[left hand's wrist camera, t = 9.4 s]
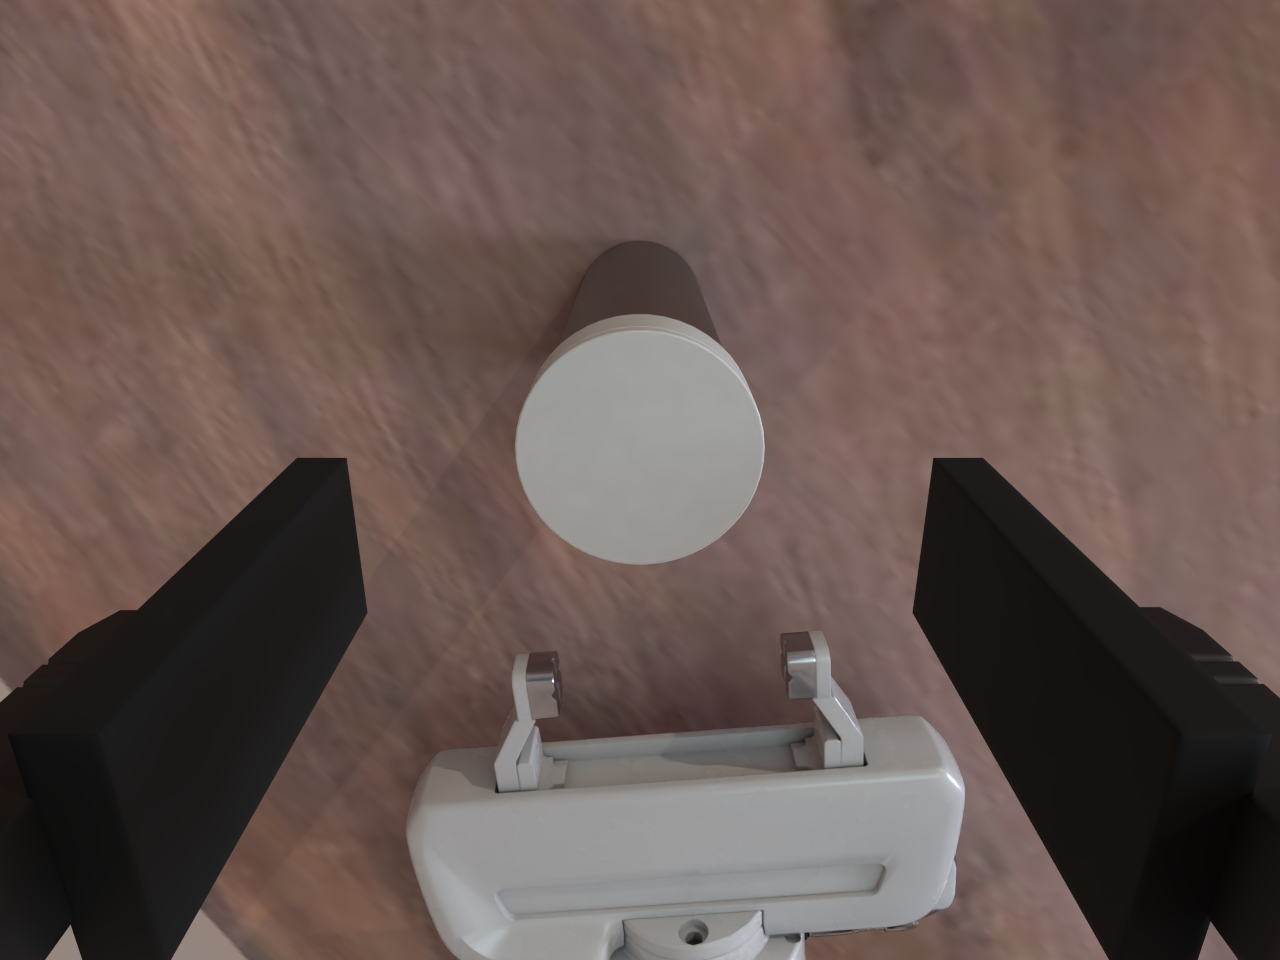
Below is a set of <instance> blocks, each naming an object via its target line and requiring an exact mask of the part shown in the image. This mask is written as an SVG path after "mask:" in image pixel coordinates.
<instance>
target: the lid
mask: <svg viewBox="0 0 1280 960" xmlns="http://www.w3.org/2000/svg"><path fill="white" fill-rule="evenodd" d="M764 448H765V446H764V432H763V427H762V422H761V418H760V414H759V412H758V409H757V406H756V404H755V401H754V399H753V396H752V394H751V392H750V389H749V387H748V384H747V382H746V380H745V378H744V376H743V374H742V372H741V371H740V369H739V367H738V366H737V364H736V363H735V362H734V360H733V359H732V357H731V356H730V355H729V354H728V353H727V352H726V351H725V350H724V349H723V348H722V347H721V345H720V344H718V343H717V342H716V341H715V340H713V339H712V338H711V337H709V336H708V335H707V334H705V333H703V332H702V331H700V330H698V329H697V328H695V327H693V326H691V325H688V324H686V323H684V322H681V321H679V320H675V319H671V318H668V317H664V316H657V315H650V314H630V315H622V316H616V317H612V318H608V319H604V320H601V321H598V322H596V323H593V324H591V325H588V326H586V327H585V328H583V329H581V330H579V331H578V332H576V333H574V334H573V335H571V336H570V337H569V338H567V339H566V340H565V341H564V342H562V343H561V344H560V345H559V346H558V347H557V348H556V349H555V350H554V351H553V352H552V353H551V354H550V355H549V357H548V358H547V359H546V361H545V362H544V363H543V365H542V366H541V368H540V370H539V371H538V373H537V375H536V377H535V379H534V381H533V383H532V386H531V388H530V390H529V393H528V395H527V397H526V400H525V402H524V405H523V407H522V410H521V413H520V416H519V420H518V424H517V428H516V438H515V458H516V465H517V470H518V475H519V478H520V481H521V484H522V487H523V490H524V492H525V494H526V496H527V498H528V500H529V502H530V504H531V506H532V507H533V508H534V510H535V511H536V513H537V514H538V516H539V517H540V518H541V519H542V521H543V522H544V523H545V524H546V525H547V526H548V527H549V528H550V529H551V530H552V531H553V532H554V533H555V534H557V535H558V536H559V537H560V538H561V539H563V540H564V541H566V542H567V543H569V544H570V545H572V546H573V547H575V548H577V549H579V550H581V551H583V552H585V553H587V554H589V555H592V556H595V557H597V558H600V559H603V560H607V561H612V562H616V563H623V564H637V565H647V564H656V563H664V562H668V561H672V560H676V559H679V558H682V557H685V556H688V555H690V554H693V553H695V552H697V551H699V550H701V549H703V548H705V547H706V546H708V545H709V544H711V543H712V542H714V541H715V540H717V539H718V538H719V537H721V536H722V535H723V534H724V533H725V532H726V531H727V530H729V529H730V528H731V527H732V525H733V524H734V523H735V522H736V521H737V520H738V519H739V518H740V516H741V515H742V513H743V512H744V511H745V509H746V508H747V506H748V505H749V503H750V501H751V499H752V497H753V495H754V493H755V491H756V488H757V485H758V483H759V480H760V477H761V472H762V467H763V462H764Z"/></svg>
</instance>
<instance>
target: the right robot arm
mask: <svg viewBox="0 0 1280 960" xmlns="http://www.w3.org/2000/svg"><path fill="white" fill-rule="evenodd" d="M780 645H781V649H782V654H781V670H782V674H783V679H784V681H786V690H787V694H788V697H789V699H805V698H812V700H813V701H814V702H815V704H816V705H815V706H814V707H813V722H807V723H793V724H780V725H767V726H754V727H741V728H727V729H714V730H701V731H687V732H674V733H661V734H648V735H635V736H622V737H608V738H595V739H582V740H568V741H555V742H542V743H541V737H540V732H539V728H538V727H537V726H533V725H534V723H535V721H536V719H543V718H553V717H559V711H560V699H561V697H562V690H563V685H562V678H561V672H560V671H559V670H558V666H559V658H558V653H557V651H552V652H535V653H524V654H516V657H515V661H514V665H513V670H512V690H513V696H514V702H515V703H514V705H513V707H512V709H511V711H510V713H509V715H508V717H507V719H506V721H505V723H504V725H503V727H502V731H501V736H500V740H499V744H498V746H488V747H475V748H460V749H448V750H443V751H440V752H439V753H437V754H436V755H435V756H434V758H433V759H432V760H431V762H430V763H429V764H428V766H427V767H426V769H425V770H424V772H423V773H422V775H421V777H420V779H419V781H418V783H417V786H416V788H415V791H414V794H413V797H412V800H411V804H410V808H409V812H408V816H407V822H406V838H407V844H408V849H409V853H410V857H411V860H412V864H413V867H414V871H415V874H416V877H417V880H418V883H419V886H420V889H421V892H422V895H423V897H424V900H425V903H426V905H427V908H428V910H429V913H430V915H431V918H432V920H433V923H434V925H435V927H436V929H437V931H438V933H439V935H440V937H441V939H442V941H443V942H444V944H445V945H446V946H447V948H448V949H449V950H450V951H451V952H452V953H453V955H455V956H456V957H457V958H458V959H459V960H806V956H805V939H807V937H823V936H837V935H847V934H852V933H858V932H859V931H860V932H863V931H866V930H867V931H869V930H884V931H887V932H896V931H904V930H909V929H912V928H915V927H917V925H918V920H919V919H921V918H924V917H928V916H930V915H932V914H934V913H936V912H938V911H939V910H940V909H945V908H947V907H948V906H950V904H951V903H952V901H953V898H954V895H955V882H956V857H955V853H956V848H957V844H958V839H959V835H960V829H961V824H962V817H963V810H964V802H965V787H964V782H963V779H962V776H961V773H960V770H959V768H958V765H957V763H956V761H955V759H954V757H953V755H952V753H951V751H950V749H949V747H948V745H947V744H946V742H945V740H944V739H943V737H942V736H941V735H940V734H939V733H938V732H937V731H936V730H935V729H934V728H933V727H932V726H931V725H930V724H929V723H928V722H927V721H926V720H925V719H924V718H922V717H920V716H917V715H898V716H886V717H872V718H859V719H857V718H856V716H855V713H854V710H853V708H852V705H851V702H850V700H849V699H848V698H847V696H846V695H845V694H844V692H843V691H842V690H841V688H840V687H839V686H838V684H837V683H836V682H835V680H834V679H833V678H832V677H831V665H830V655H829V649H828V645H827V643H826V640H825V637H824V635H823V632H822V630H819V631H807V632H795V633H782V634H780Z"/></svg>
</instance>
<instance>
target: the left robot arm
mask: <svg viewBox="0 0 1280 960" xmlns="http://www.w3.org/2000/svg"><path fill="white" fill-rule="evenodd" d="M366 614H367V606H366V599H365V591H364V584H363V577H362V569H361V562H360V554H359V547H358V539H357V532H356V525H355V517H354V510H353V502H352V495H351V487H350V480H349V473H348V465H347V458H297V459H296V460H294V461H293V462H292V463H291V464H290V465H289V466H288V467H287V468H286V469H285V470H284V471H283V472H282V473H281V474H280V475H279V476H278V477H277V478H276V479H275V480H273V481H272V482H271V483H270V484H269V485H268V486H267V487H266V488H265V489H264V490H263V491H262V492H261V493H260V494H259V495H258V496H257V497H256V498H255V499H254V500H252V501H251V502H250V503H249V504H248V505H247V506H246V507H245V508H244V509H243V510H242V511H241V512H240V513H239V514H238V515H237V516H236V517H235V518H234V519H233V520H231V521H230V522H229V523H228V524H227V525H226V526H225V527H224V528H223V529H222V530H221V531H220V532H219V533H218V534H217V535H216V536H215V537H214V538H213V539H211V540H210V541H209V542H208V543H207V544H206V545H205V546H204V547H203V548H202V549H201V550H200V551H199V552H198V553H197V554H196V555H195V556H194V557H193V558H192V559H190V560H189V561H188V562H187V563H186V564H185V565H184V566H183V567H182V568H181V569H180V570H179V571H178V572H177V573H176V574H175V575H174V576H173V577H172V578H171V579H169V580H168V581H167V582H166V583H165V584H164V585H163V586H162V587H161V588H160V589H159V590H158V591H157V592H156V593H155V594H154V595H153V596H152V597H151V598H150V599H148V600H147V601H146V602H145V603H144V604H143V605H142V606H141V607H140V608H139V609H138V610H120V611H118V612H116V613H114V614H113V615H111V616H109V617H107V618H105V619H103V620H101V621H99V622H98V623H96V624H94V625H92V626H90V627H88V628H86V629H85V630H83V631H81V632H79V633H78V634H76V635H75V636H74V637H73V638H72V639H71V640H70V641H69V642H67V643H66V644H65V645H64V646H63V647H62V648H61V649H60V650H59V651H57V652H56V653H55V654H54V655H53V656H52V657H51V658H50V659H48V660H49V662H48V665H42V666H41V667H39V668H38V669H37V670H36V671H35V672H34V673H33V674H32V675H30V676H29V677H28V678H27V679H26V680H25V681H24V685H23V687H17V688H16V689H15V690H14V691H13V692H11V693H10V694H9V695H8V696H7V697H6V698H5V699H4V700H3V701H1V702H0V960H45V959H46V958H47V956H48V955H49V954H50V952H51V951H52V949H53V948H54V947H55V945H56V944H57V942H58V941H59V940H60V938H61V937H62V936H63V934H64V933H65V931H66V930H67V929H68V927H69V926H70V924H71V927H72V930H73V933H74V936H75V939H76V942H77V945H78V948H79V951H80V954H81V957H82V960H171V959H172V957H173V955H174V953H175V952H176V950H177V948H178V946H179V944H180V943H181V941H182V939H183V937H184V936H185V934H186V932H187V930H188V928H189V927H190V925H191V923H192V922H193V920H194V918H195V916H196V914H197V913H198V911H199V909H200V907H201V906H202V904H203V902H204V900H205V899H206V897H207V895H208V893H209V892H210V890H211V888H212V886H213V884H214V883H215V881H216V879H217V877H218V876H219V874H220V872H221V870H222V869H223V867H224V865H225V863H226V861H227V860H228V858H229V856H230V854H231V853H232V851H233V849H234V847H235V846H236V844H237V842H238V840H239V839H240V837H241V835H242V833H243V831H244V830H245V828H246V826H247V824H248V823H249V821H250V819H251V817H252V816H253V814H254V812H255V810H256V809H257V807H258V805H259V803H260V801H261V800H262V798H263V796H264V794H265V793H266V791H267V789H268V787H269V786H270V784H271V782H272V780H273V779H274V777H275V775H276V773H277V771H278V770H279V768H280V766H281V764H282V763H283V761H284V759H285V757H286V756H287V754H288V752H289V750H290V749H291V747H292V745H293V743H294V741H295V740H296V738H297V736H298V734H299V733H300V731H301V729H302V727H303V726H304V724H305V722H306V720H307V718H308V717H309V715H310V713H311V711H312V710H313V708H314V706H315V704H316V703H317V701H318V699H319V697H320V696H321V694H322V692H323V690H324V688H325V687H326V685H327V683H328V681H329V680H330V678H331V676H332V674H333V673H334V671H335V669H336V667H337V666H338V664H339V662H340V660H341V658H342V657H343V655H344V653H345V651H346V650H347V648H348V646H349V644H350V643H351V641H352V639H353V637H354V636H355V634H356V632H357V630H358V628H359V627H360V625H361V623H362V621H363V620H364V618H365V616H366ZM913 614H914V616H915V618H916V620H917V621H918V623H919V625H920V627H921V628H922V630H923V632H924V634H925V636H926V637H927V639H928V641H929V643H930V644H931V646H932V648H933V650H934V651H935V653H936V655H937V657H938V658H939V660H940V662H941V664H942V666H943V667H944V669H945V671H946V673H947V674H948V676H949V678H950V680H951V681H952V683H953V685H954V687H955V688H956V690H957V692H958V694H959V696H960V697H961V699H962V701H963V703H964V704H965V706H966V708H967V710H968V711H969V713H970V715H971V717H972V719H973V720H974V722H975V724H976V726H977V727H978V729H979V731H980V733H981V734H982V736H983V738H984V740H985V741H986V743H987V745H988V747H989V749H990V750H991V752H992V754H993V756H994V757H995V759H996V761H997V763H998V764H999V766H1000V768H1001V770H1002V771H1003V773H1004V775H1005V777H1006V779H1007V780H1008V782H1009V784H1010V786H1011V787H1012V789H1013V791H1014V793H1015V794H1016V796H1017V798H1018V800H1019V801H1020V803H1021V805H1022V807H1023V809H1024V810H1025V812H1026V814H1027V816H1028V817H1029V819H1030V821H1031V823H1032V824H1033V826H1034V828H1035V830H1036V831H1037V833H1038V835H1039V837H1040V839H1041V840H1042V842H1043V844H1044V846H1045V847H1046V849H1047V851H1048V853H1049V854H1050V856H1051V858H1052V860H1053V862H1054V863H1055V865H1056V867H1057V869H1058V870H1059V872H1060V874H1061V876H1062V877H1063V879H1064V881H1065V883H1066V884H1067V886H1068V888H1069V890H1070V892H1071V893H1072V895H1073V897H1074V899H1075V900H1076V902H1077V904H1078V906H1079V907H1080V909H1081V911H1082V913H1083V914H1084V916H1085V918H1086V920H1087V922H1088V923H1089V925H1090V927H1091V929H1092V930H1093V932H1094V934H1095V936H1096V937H1097V939H1098V941H1099V943H1100V944H1101V946H1102V948H1103V950H1104V952H1105V953H1106V955H1107V957H1108V959H1109V960H1198V957H1199V954H1200V951H1201V948H1202V945H1203V942H1204V939H1205V936H1206V933H1207V930H1208V927H1209V924H1210V921H1211V922H1212V924H1213V925H1214V927H1215V928H1216V929H1217V931H1218V932H1219V933H1220V935H1221V936H1222V938H1223V939H1224V940H1225V942H1226V943H1227V945H1228V946H1229V947H1230V949H1231V950H1232V951H1233V953H1234V954H1235V956H1236V957H1237V958H1238V960H1280V698H1279V697H1278V696H1277V695H1276V694H1274V693H1273V692H1272V691H1271V690H1270V689H1269V688H1268V687H1267V686H1265V685H1264V684H1258V682H1257V678H1256V677H1255V676H1254V675H1253V674H1252V673H1251V672H1250V671H1249V670H1247V669H1246V668H1245V667H1244V666H1243V665H1242V664H1241V663H1239V662H1233V660H1232V655H1230V654H1229V653H1228V652H1227V651H1226V650H1225V649H1224V648H1223V647H1221V646H1220V645H1219V644H1218V643H1217V642H1216V641H1215V640H1214V639H1212V638H1211V637H1210V636H1209V635H1208V634H1207V633H1206V632H1204V631H1203V630H1202V629H1200V628H1198V627H1196V626H1194V625H1193V624H1191V623H1189V622H1187V621H1185V620H1183V619H1181V618H1179V617H1178V616H1176V615H1174V614H1172V613H1170V612H1168V611H1166V610H1164V609H1163V608H1161V607H1139V606H1138V605H1137V604H1136V603H1135V602H1134V601H1133V600H1132V599H1130V598H1129V597H1128V596H1127V595H1126V594H1125V593H1124V592H1123V591H1122V590H1121V589H1120V588H1119V587H1118V586H1117V585H1116V584H1115V583H1114V582H1113V581H1112V580H1110V579H1109V578H1108V577H1107V576H1106V575H1105V574H1104V573H1103V572H1102V571H1101V570H1100V569H1099V568H1098V567H1097V566H1096V565H1095V564H1094V563H1093V562H1092V561H1091V560H1089V559H1088V558H1087V557H1086V556H1085V555H1084V554H1083V553H1082V552H1081V551H1080V550H1079V549H1078V548H1077V547H1076V546H1075V545H1074V544H1073V543H1072V542H1071V541H1070V540H1068V539H1067V538H1066V537H1065V536H1064V535H1063V534H1062V533H1061V532H1060V531H1059V530H1058V529H1057V528H1056V527H1055V526H1054V525H1053V524H1052V523H1051V522H1050V521H1049V520H1047V519H1046V518H1045V517H1044V516H1043V515H1042V514H1041V513H1040V512H1039V511H1038V510H1037V509H1036V508H1035V507H1034V506H1033V505H1032V504H1031V503H1030V502H1029V501H1028V500H1026V499H1025V498H1024V497H1023V496H1022V495H1021V494H1020V493H1019V492H1018V491H1017V490H1016V489H1015V488H1014V487H1013V486H1012V485H1011V484H1010V483H1009V482H1008V481H1007V480H1005V479H1004V478H1003V477H1002V476H1001V475H1000V474H999V473H998V472H997V471H996V470H995V469H994V468H993V467H992V466H991V465H990V464H989V463H988V462H987V461H986V460H984V459H983V458H933V465H932V473H931V480H930V487H929V495H928V502H927V510H926V517H925V524H924V532H923V539H922V547H921V554H920V562H919V569H918V576H917V584H916V591H915V599H914V606H913Z"/></svg>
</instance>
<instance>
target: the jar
mask: <svg viewBox="0 0 1280 960" xmlns="http://www.w3.org/2000/svg"><path fill="white" fill-rule="evenodd" d="M630 314H650V315H657V316H664V317H668V318H671V319H675V320H679V321H681V322H684V323H686V324H688V325H691V326H693V327H695V328H697V329H698V330H700V331H702V332H703V333H705V334H707V335H708V336H709V337H711V338H712V339H713V340H715V341H716V342H717V343H718V344H720V345H721V343H720V340H719V338H718V335H717V332H716V330H715V327H714V324H713V322H712V319H711V317H710V314H709V311H708V309H707V306H706V303H705V301H704V298H703V296H702V293H701V290H700V288H699V285H698V282H697V280H696V277H695V275H694V273H693V271H692V270H691V268H690V267H689V265H688V264H687V263H686V262H685V261H684V260H683V258H682V257H680V256H679V255H678V254H677V253H676V252H674V251H672V250H671V249H669V248H667V247H665V246H663V245H660V244H657V243H654V242H648V241H632V242H626V243H623V244H619V245H617V246H615V247H612V248H611V249H609V250H607V251H606V252H604V253H603V254H602V255H600V256H599V257H598V258H597V259H596V260H595V261H594V262H593V264H592V265H591V266H590V268H589V269H588V271H587V273H586V275H585V277H584V279H583V282H582V284H581V287H580V289H579V292H578V295H577V297H576V300H575V302H574V305H573V308H572V310H571V313H570V315H569V318H568V321H567V323H566V326H565V329H564V331H563V334H562V336H561V339H560V342H559V344H558V346H559V345H560V344H561V343H562V342H564V341H565V340H566V339H567V338H569V337H570V336H571V335H573V334H574V333H576V332H578V331H579V330H581V329H583V328H585V327H586V326H588V325H591V324H593V323H596V322H598V321H601V320H604V319H608V318H612V317H616V316H622V315H630ZM721 347H722V345H721Z"/></svg>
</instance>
